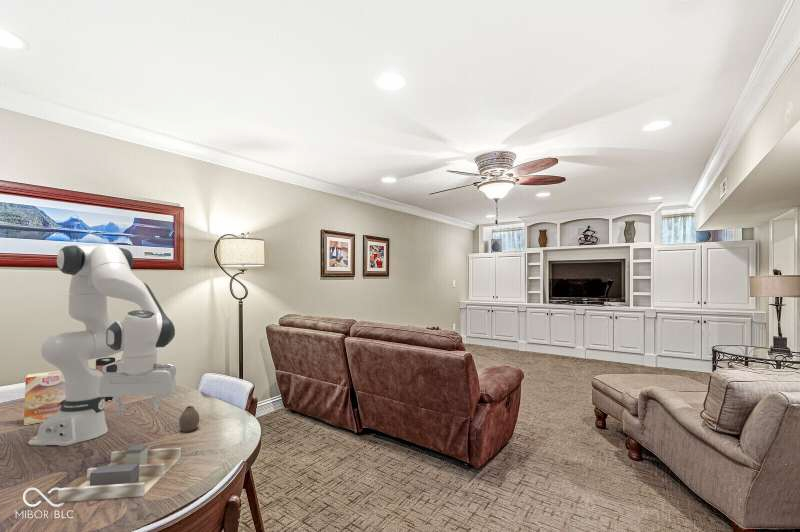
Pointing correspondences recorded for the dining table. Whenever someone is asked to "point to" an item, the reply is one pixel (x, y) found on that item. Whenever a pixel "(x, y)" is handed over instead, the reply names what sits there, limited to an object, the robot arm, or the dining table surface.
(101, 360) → the travel mug
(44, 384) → the coffeecake box
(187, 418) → the vase
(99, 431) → the robot arm
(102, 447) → the dining table surface
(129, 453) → the grey rectangular block
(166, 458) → the rack
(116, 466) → the charcoal block
